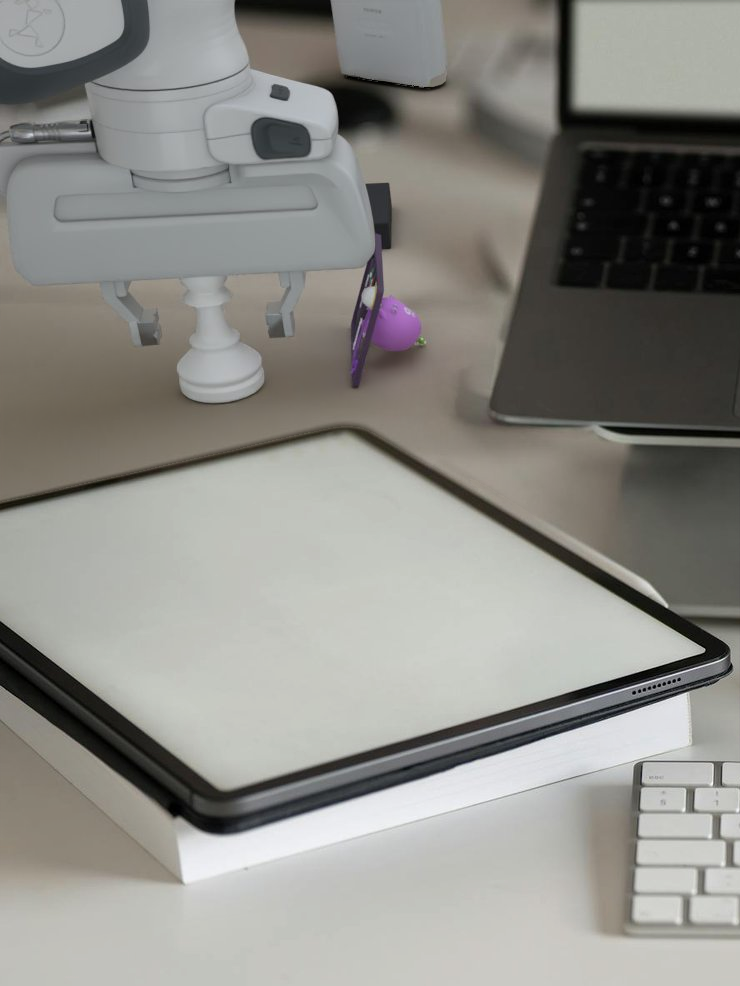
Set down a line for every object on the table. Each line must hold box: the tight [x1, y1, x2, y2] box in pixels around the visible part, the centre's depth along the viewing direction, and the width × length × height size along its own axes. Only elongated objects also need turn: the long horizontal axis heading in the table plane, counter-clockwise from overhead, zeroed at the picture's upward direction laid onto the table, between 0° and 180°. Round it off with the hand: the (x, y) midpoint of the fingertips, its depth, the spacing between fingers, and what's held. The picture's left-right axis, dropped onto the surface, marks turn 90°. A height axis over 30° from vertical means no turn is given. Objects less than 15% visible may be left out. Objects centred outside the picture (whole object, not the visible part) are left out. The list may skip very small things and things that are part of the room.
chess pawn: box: [176, 276, 266, 404], centre depth 102 cm, size 5×5×9 cm
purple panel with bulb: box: [350, 233, 427, 387], centre depth 108 cm, size 7×5×9 cm
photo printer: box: [330, 0, 448, 88], centre depth 152 cm, size 10×4×12 cm, turn 69°
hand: (215, 338), depth 103 cm, fingers open, 6 cm apart
